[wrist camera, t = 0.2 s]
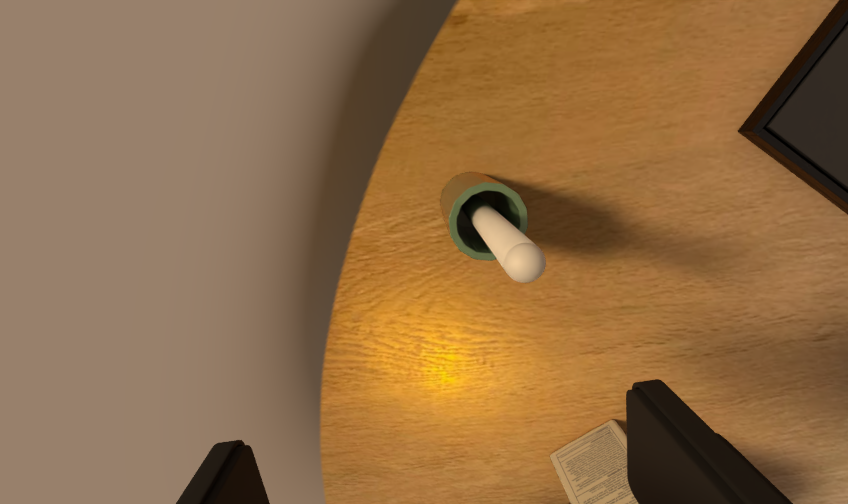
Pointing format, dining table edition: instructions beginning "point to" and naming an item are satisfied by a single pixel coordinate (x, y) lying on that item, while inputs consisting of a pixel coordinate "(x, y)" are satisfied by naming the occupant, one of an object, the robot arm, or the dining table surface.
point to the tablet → (779, 93)
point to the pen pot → (491, 193)
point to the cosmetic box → (595, 467)
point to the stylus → (505, 241)
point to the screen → (820, 113)
